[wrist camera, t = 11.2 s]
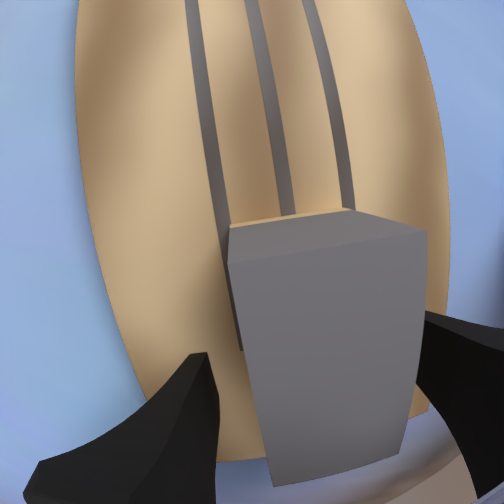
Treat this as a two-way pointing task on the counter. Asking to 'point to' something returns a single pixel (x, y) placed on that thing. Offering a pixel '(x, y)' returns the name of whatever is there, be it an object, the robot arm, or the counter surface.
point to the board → (244, 159)
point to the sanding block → (329, 335)
